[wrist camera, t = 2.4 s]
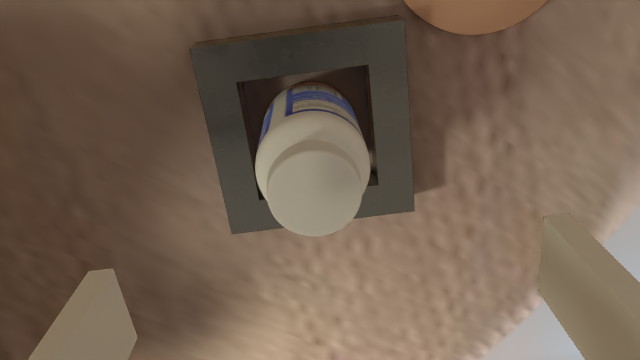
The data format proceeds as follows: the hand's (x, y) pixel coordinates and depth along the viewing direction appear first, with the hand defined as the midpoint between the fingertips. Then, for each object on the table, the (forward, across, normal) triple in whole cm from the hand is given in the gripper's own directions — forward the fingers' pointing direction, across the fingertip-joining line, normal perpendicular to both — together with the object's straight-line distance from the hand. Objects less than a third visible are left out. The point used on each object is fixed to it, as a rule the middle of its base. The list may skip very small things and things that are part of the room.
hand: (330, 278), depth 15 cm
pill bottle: (+16, 0, 0) cm, 16 cm away
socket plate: (+15, 0, 0) cm, 15 cm away
